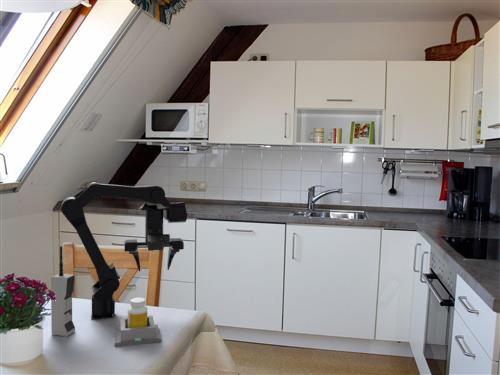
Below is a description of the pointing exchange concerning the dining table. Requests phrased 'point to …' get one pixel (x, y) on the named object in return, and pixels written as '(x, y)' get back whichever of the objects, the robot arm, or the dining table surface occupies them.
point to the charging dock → (137, 333)
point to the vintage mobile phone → (62, 302)
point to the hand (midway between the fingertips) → (153, 270)
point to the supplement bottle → (137, 313)
